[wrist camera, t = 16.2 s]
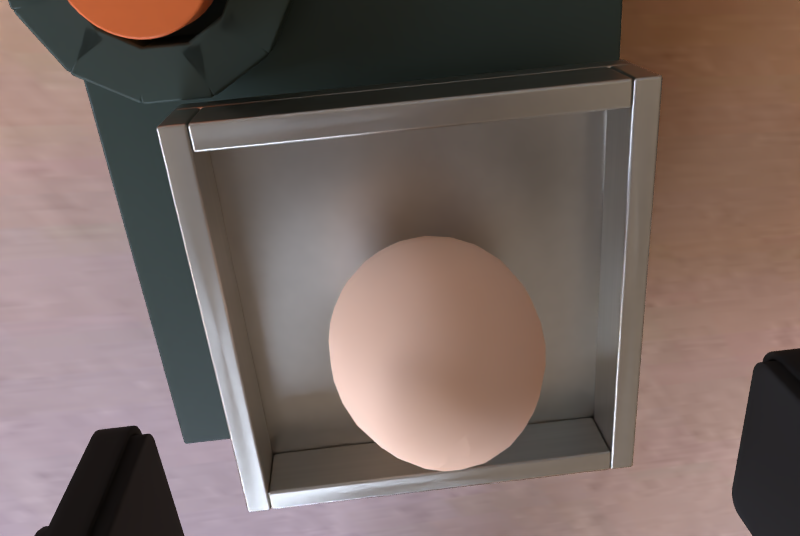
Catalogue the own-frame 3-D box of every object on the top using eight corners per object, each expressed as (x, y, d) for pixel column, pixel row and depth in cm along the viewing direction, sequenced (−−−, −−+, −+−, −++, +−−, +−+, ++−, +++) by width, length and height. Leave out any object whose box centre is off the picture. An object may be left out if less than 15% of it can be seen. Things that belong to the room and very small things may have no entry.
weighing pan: (178, 103, 15) (154, 126, 13) (624, 59, 16) (664, 75, 14) (256, 457, 20) (247, 513, 18) (605, 417, 20) (633, 467, 18)
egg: (540, 269, 17) (642, 404, 12) (428, 395, 18) (477, 567, 13) (401, 166, 16) (450, 270, 11) (287, 310, 17) (282, 467, 12)
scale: (13, -182, 15) (-58, -208, 13) (613, -234, 16) (669, -271, 13) (179, 418, 22) (156, 483, 20) (589, 371, 23) (621, 429, 20)
